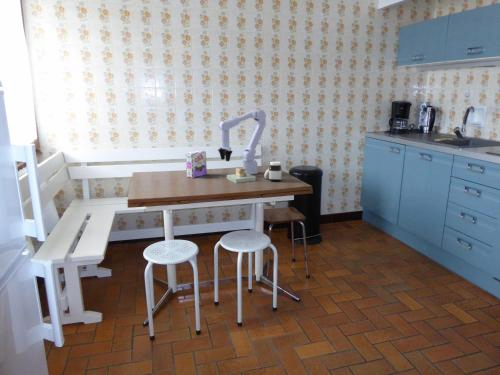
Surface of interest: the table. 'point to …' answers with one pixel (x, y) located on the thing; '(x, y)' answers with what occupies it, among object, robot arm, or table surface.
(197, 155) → the candy box
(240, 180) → the sage box
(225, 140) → the robot arm
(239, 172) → the beech block
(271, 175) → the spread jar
